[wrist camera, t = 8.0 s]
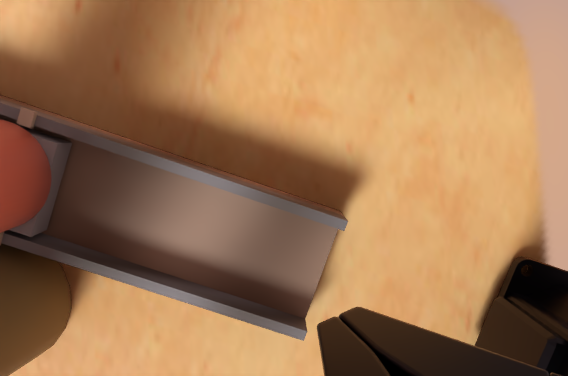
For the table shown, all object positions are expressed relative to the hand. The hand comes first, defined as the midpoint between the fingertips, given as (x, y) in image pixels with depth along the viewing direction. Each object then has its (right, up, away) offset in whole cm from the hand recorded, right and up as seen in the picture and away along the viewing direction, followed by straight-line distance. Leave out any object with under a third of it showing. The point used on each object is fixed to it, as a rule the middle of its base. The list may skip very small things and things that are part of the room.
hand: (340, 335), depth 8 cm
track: (-7, +2, +11) cm, 13 cm away
